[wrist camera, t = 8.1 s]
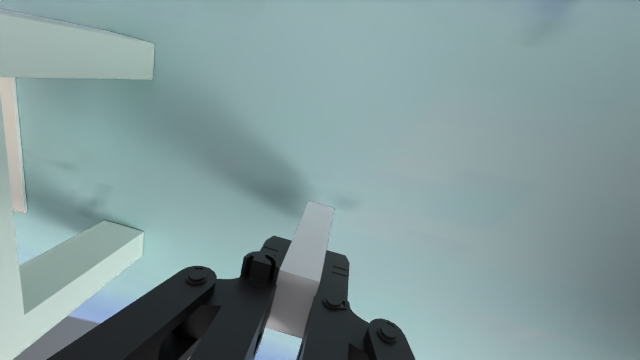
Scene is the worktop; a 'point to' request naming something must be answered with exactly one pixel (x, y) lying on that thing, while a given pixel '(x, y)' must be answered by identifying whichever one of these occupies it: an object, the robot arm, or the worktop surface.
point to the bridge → (3, 266)
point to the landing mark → (13, 143)
